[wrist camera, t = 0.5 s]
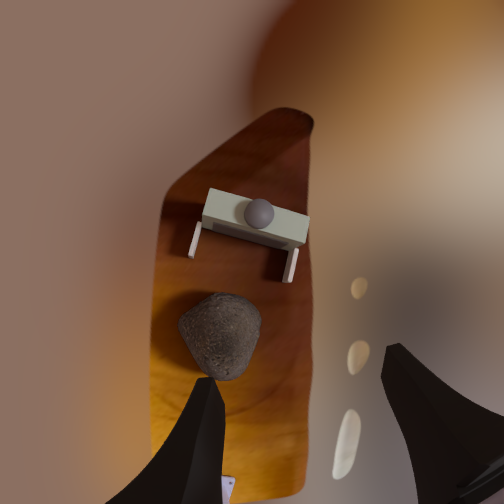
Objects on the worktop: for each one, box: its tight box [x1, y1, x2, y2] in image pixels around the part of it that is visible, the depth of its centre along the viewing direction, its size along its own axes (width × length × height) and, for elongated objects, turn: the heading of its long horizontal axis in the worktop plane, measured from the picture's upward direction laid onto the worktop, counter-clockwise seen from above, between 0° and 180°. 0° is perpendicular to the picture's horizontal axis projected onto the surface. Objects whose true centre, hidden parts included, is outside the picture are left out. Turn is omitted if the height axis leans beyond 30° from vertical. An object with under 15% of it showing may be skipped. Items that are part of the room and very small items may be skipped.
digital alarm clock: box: [188, 188, 310, 283], centre depth 33 cm, size 7×12×7 cm, turn 76°
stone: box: [177, 292, 261, 381], centre depth 33 cm, size 10×8×10 cm
